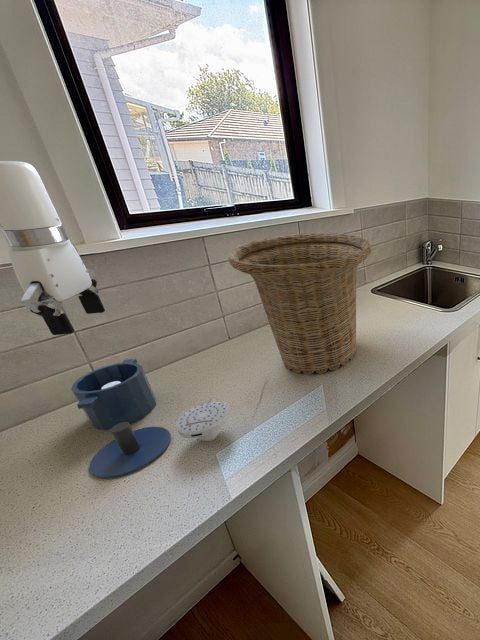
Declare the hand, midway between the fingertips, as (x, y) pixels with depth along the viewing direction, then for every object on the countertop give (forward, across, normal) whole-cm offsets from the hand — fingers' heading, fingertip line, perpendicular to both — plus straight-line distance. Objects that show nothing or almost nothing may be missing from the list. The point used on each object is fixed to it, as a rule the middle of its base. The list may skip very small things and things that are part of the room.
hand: (81, 322), depth 67 cm
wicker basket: (+24, -17, +43) cm, 52 cm away
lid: (+24, +14, +7) cm, 28 cm away
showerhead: (+24, +13, +21) cm, 35 cm away
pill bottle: (+24, 0, -1) cm, 24 cm away
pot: (+24, 0, 0) cm, 24 cm away
